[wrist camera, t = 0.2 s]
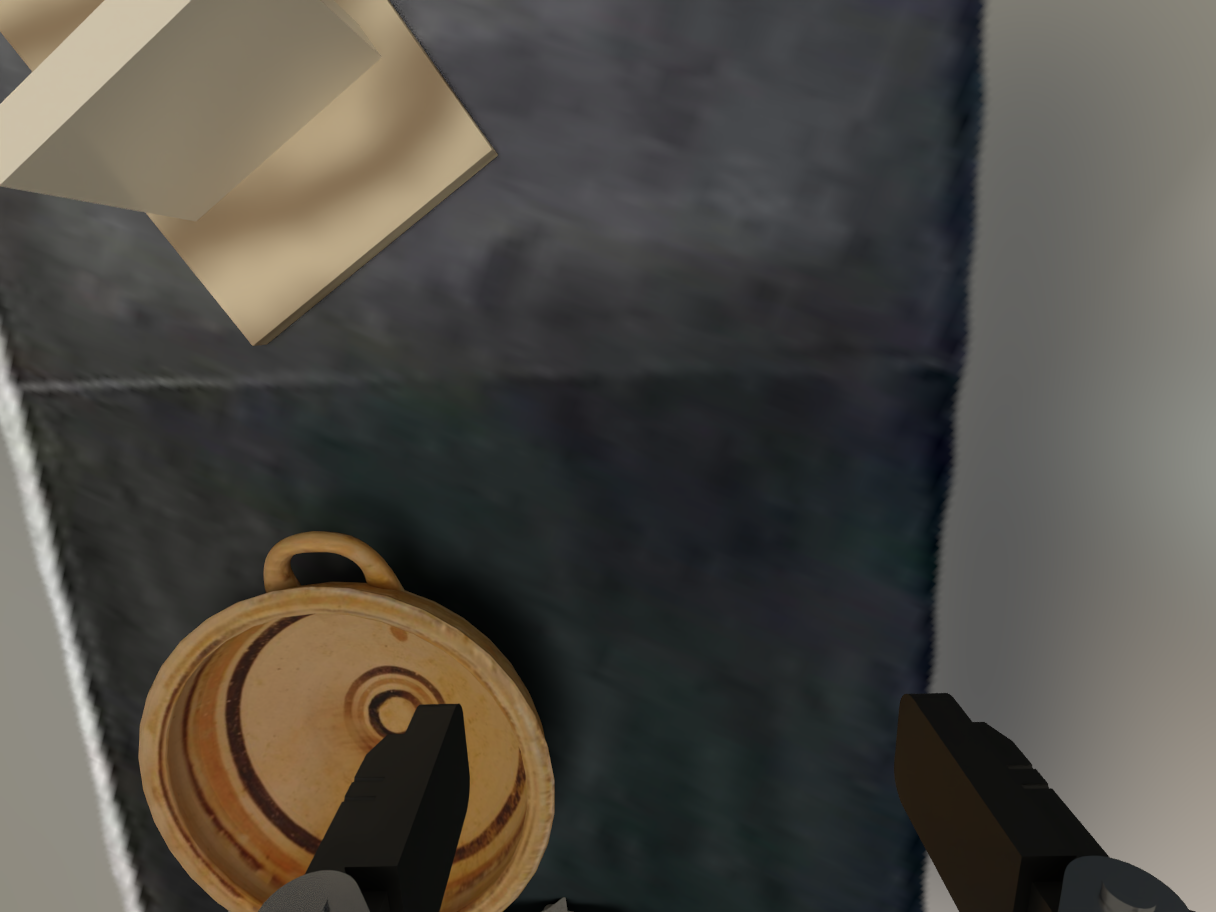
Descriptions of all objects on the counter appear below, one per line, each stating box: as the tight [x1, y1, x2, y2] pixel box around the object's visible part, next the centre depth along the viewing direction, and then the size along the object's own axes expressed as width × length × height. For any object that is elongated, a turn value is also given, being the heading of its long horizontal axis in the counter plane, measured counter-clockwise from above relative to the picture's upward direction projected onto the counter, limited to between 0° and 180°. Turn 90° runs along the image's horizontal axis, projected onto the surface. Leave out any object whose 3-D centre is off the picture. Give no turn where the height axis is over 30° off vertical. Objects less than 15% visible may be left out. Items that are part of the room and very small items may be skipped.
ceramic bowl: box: [139, 531, 554, 912], centre depth 43 cm, size 30×24×8 cm
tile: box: [0, 0, 382, 221], centre depth 31 cm, size 14×2×12 cm, turn 126°
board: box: [0, 0, 498, 346], centre depth 37 cm, size 24×18×2 cm
